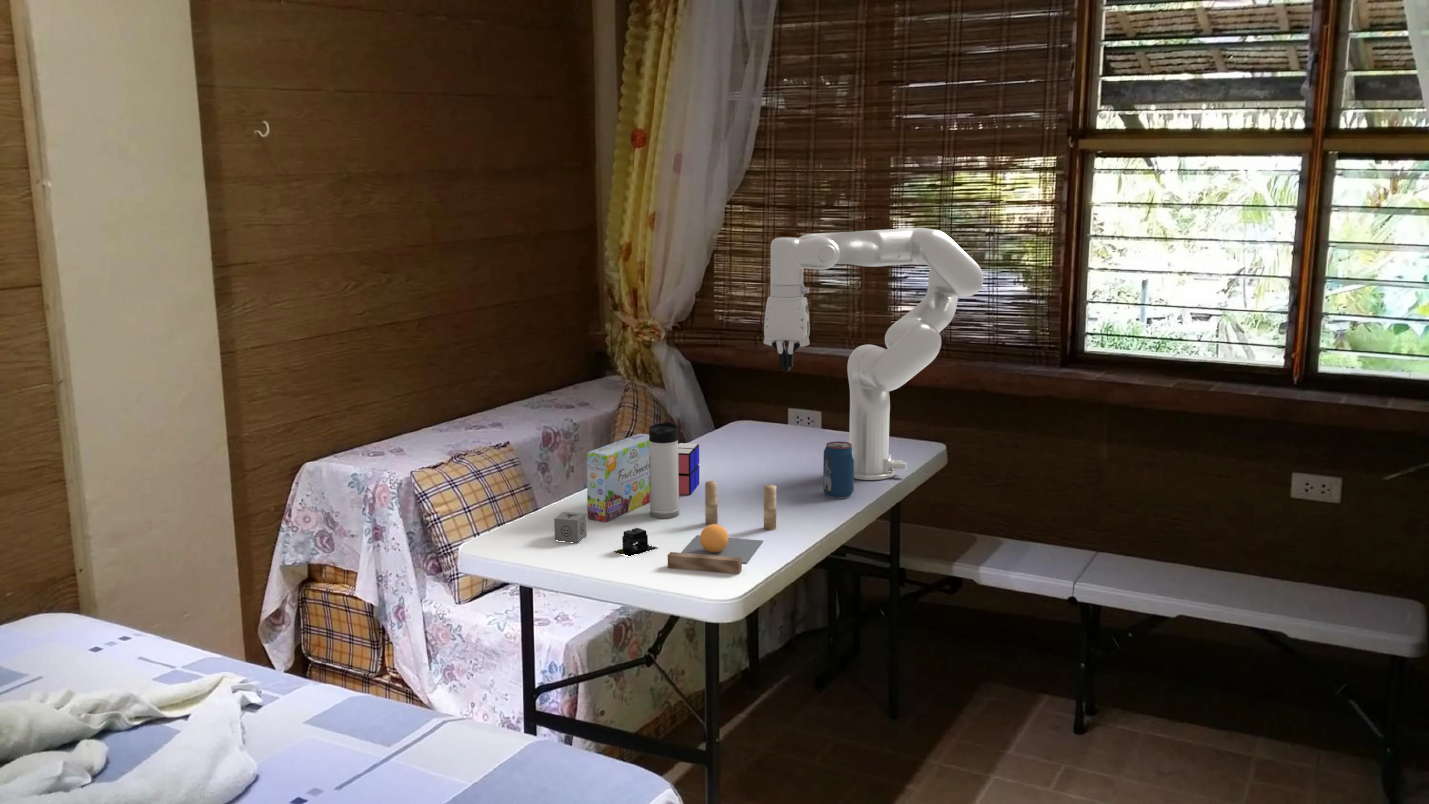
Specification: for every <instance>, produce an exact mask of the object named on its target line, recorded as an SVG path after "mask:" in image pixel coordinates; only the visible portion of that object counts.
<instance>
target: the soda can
mask: <svg viewBox="0 0 1429 804" xmlns="http://www.w3.org/2000/svg"><path fill="white" fill-rule="evenodd" d="M825 445H826V446H825V448H824V450H823V462H822V463H823V465H822V466H823V471H822V472H823V473H822V475H823V481H822V491H823V493H824V494H825V496H826V497H827V496H828V497H827V498H830V499H836V498H843V499H848V498H850V497H851V496H852V494H853V493H854V484H855V481H854V480H855V479H854V451H853V448H852V444H851V443H849V442H848V441H840V440H839V441H829V442H826V444H825ZM847 497H848V498H847Z"/></svg>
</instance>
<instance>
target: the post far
mask: <svg viewBox="0 0 1429 804" xmlns="http://www.w3.org/2000/svg"><path fill="white" fill-rule="evenodd" d="M704 492H705V493H704V498H705V499H704V503H705V504H704V505H705V506H704V510H705V513H704V514H705V515H704V516H705V520H704V521H705V522H704V523H705V525H706V526H708V525H712V524H717V525H719V524H718V520H719V517H718V516H719V515H718V514H719V513H718V512H719V511H718V508H719V507H718V499H719V498H718V496H719V495H718V482H717V481H716V480H707V481H705V482H704Z"/></svg>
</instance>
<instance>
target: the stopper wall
mask: <svg viewBox="0 0 1429 804" xmlns="http://www.w3.org/2000/svg"><path fill="white" fill-rule="evenodd" d="M742 564H743V563H742V558H737V557H725V556H714V555H702V554H690V553H681V552H676V551H675V552H674V551H670V552H669V553H668V554H667V569H678V570H690V571H701V572H713V573H723V574H724V573H726V574H737V575H740V574H741V572H742V571H743V569H742Z"/></svg>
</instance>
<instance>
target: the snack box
mask: <svg viewBox="0 0 1429 804" xmlns="http://www.w3.org/2000/svg"><path fill="white" fill-rule="evenodd" d="M649 437H650V436H649V433H637V434H634V435H632V436H629V437H627V438H623V439H621V440H617V441H614V442H612V443H609V444H607V445H604V446H601V447H599V448H596V449H593V450H589V451H588V452H586V467H587V468H586V474H587V475H586V478H587V479H586V481H587V483H586V484H587V485H586V487H587V488H586V489H587V492H586V494H587V498H586V499H587V501H586V502H587V503H586V504H587V506H586V508H587V513H586V519H588V520H593V519H594V521H597V520H599V521H598V522H602V521H604V522H603V523H607V522H609V521H612V520H614V519H615V517H616V518H617V517H620V516H622V514H623V515H624V514H627V513H630V512H631V510H632V511H633V510H636V509H638V508H640V506H641V507H642V506H645V505H647V504H650V475H649Z"/></svg>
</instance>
